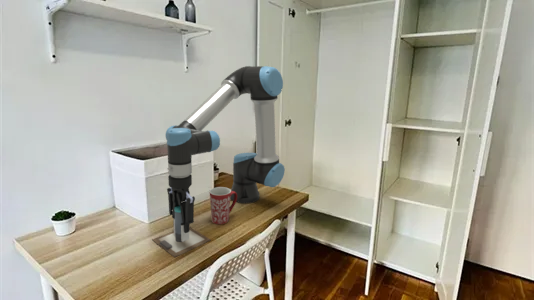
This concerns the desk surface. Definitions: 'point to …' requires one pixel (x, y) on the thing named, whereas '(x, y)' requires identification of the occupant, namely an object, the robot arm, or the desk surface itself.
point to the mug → (221, 204)
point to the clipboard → (180, 247)
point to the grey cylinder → (178, 223)
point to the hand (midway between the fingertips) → (181, 237)
